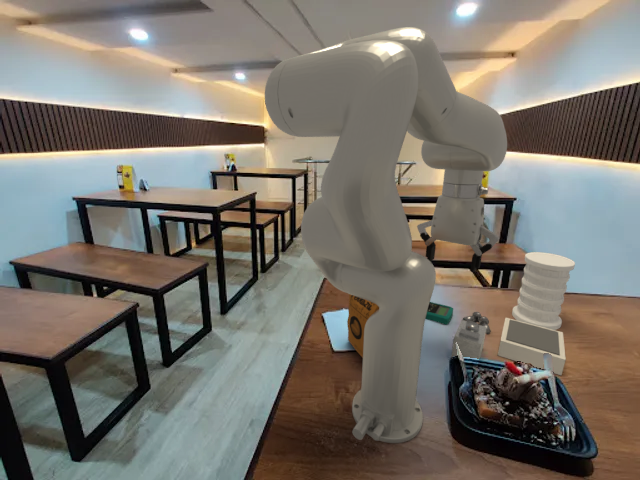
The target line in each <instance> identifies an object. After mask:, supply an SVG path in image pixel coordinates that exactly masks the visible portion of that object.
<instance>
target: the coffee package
mask: <svg viewBox="0 0 640 480" xmlns="http://www.w3.org/2000/svg"><path fill="white" fill-rule="evenodd" d="M377 310H379V306H378V305H376V304H375V303H372V302H370V301H368V300H365V299H362V298H359V297H357V296H354V295H351V294H348V309H347V311H348V318H347V319H346V322H347V333H348V334H347V336H348V337H347V341H348V342H349V343H350V345H352V347H353V349H354V350H355V351H356V352H357V353H358V355H360V357H361V358H362V359H363V346H364V328H365V324H366V322H367V320H368V319H369V317H370V316H371V315H372V314H373V313H375V312H376V311H377Z"/></svg>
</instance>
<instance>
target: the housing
mask: <svg viewBox="0 0 640 480" xmlns="http://www.w3.org/2000/svg"><path fill="white" fill-rule="evenodd" d="M486 328H487V327H485V326H481V325H480V323H479V322H478V323H477V321H474V322H472V321H468V322H467V321H464V320H463V319H461V321H460V323H459V326H458V328H457V330H456V332H455V334H454V336H453V338H454V339H453V343H452V344H453V345H452V352H451V357H453V356H457V349H456V344H455V343H456V342H457V344H458V346H459V349H460V351H461V353H462V355H463V357H470V358H477V359H479V358H481V356H482V352H483V348H484V344H485V338H486V335H487V334H486Z"/></svg>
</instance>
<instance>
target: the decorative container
mask: <svg viewBox="0 0 640 480" xmlns="http://www.w3.org/2000/svg"><path fill="white" fill-rule="evenodd" d="M524 262H525V263H526V264H525V266H524V268H523V273H524V274H523V276H522V278H521V286H520V288H519V297H518V298H517V305H515V306H513V307H512V312H511V315H512V317H513V318H514V320H517V321H521V322H525V323H529V324H532V325H536V326H540V327H544V328H548V329H552V330H556V331H558V330H559V329H560V328H561V327H562V323H563V320H562V318H561V317H560V316H559V315H561V313H562V306H561V305H562V304H564V302H565V296H564V295H565V293H566V292H567V289H568V288H567V287H568V285H567V282H569V280H570V278H571V277H570V276H571V274H570V271H573V270H575V266H576V261H574V260H572V259H571V258H568V257H566V256H563V255H559V254H555V253H549V252H543V251H540V252H539V251H538V252H537V251H535V252H534V251H532V252H527V253H525V255H524Z"/></svg>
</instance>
